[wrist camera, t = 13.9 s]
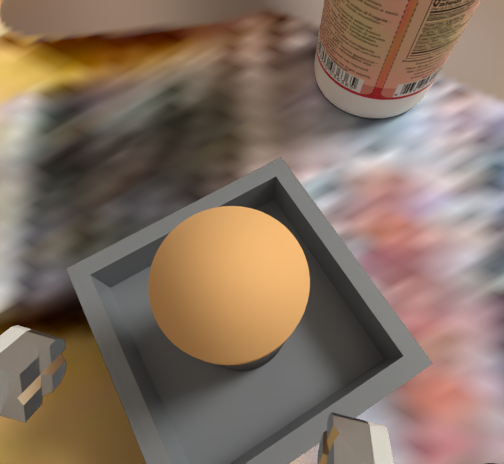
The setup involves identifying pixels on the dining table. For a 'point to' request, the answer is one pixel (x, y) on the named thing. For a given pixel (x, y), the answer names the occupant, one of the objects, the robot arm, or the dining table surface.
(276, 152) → the dining table surface
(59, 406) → the dining table surface
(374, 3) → the fruit juice
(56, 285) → the dining table surface
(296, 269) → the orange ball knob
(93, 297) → the open square box
